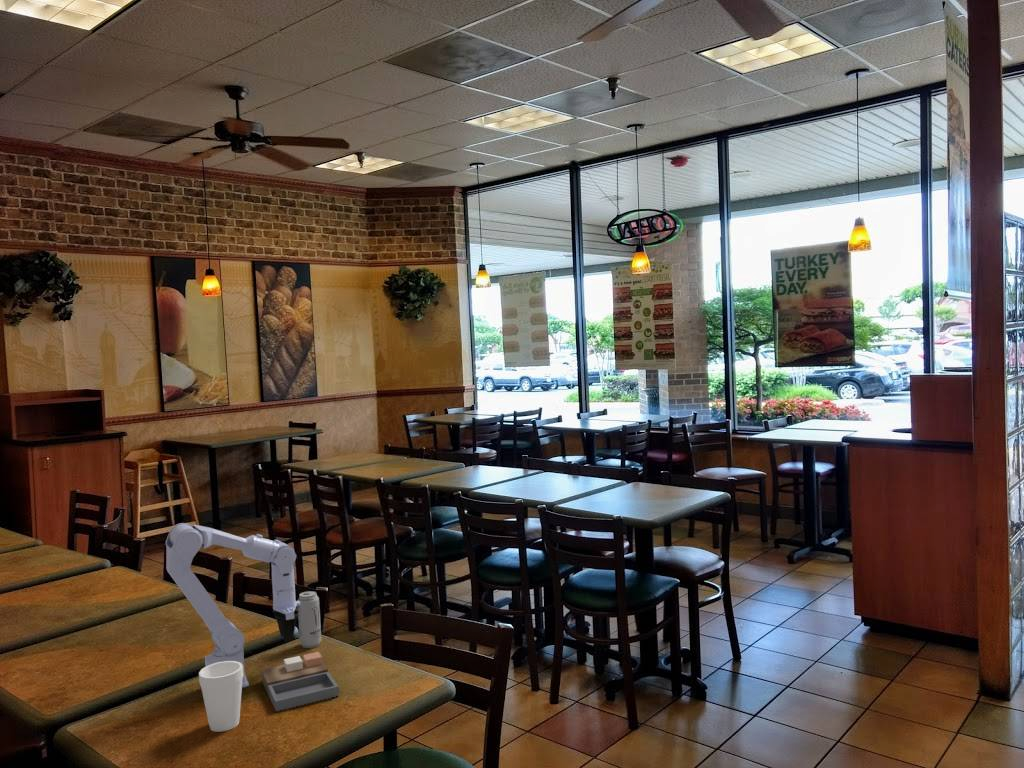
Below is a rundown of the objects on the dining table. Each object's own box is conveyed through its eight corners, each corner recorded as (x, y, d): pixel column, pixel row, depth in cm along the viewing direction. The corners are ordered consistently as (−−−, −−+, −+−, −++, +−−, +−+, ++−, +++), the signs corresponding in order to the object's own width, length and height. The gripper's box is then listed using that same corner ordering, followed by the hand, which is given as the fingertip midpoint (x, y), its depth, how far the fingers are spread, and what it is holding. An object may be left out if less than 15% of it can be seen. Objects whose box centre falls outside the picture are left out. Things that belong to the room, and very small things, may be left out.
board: (268, 694, 191) (267, 683, 191) (262, 680, 199) (261, 669, 199) (328, 680, 198) (328, 669, 198) (320, 667, 206) (319, 656, 206)
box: (276, 711, 182) (275, 701, 182) (268, 695, 191) (268, 685, 191) (338, 696, 188) (338, 686, 188) (328, 681, 198) (328, 671, 197)
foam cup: (210, 716, 181) (206, 662, 180) (250, 713, 182) (247, 659, 181) (197, 736, 171) (193, 679, 171) (239, 733, 172) (236, 676, 171)
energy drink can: (315, 649, 219) (312, 597, 219) (296, 648, 221) (293, 597, 220) (325, 641, 225) (322, 590, 225) (306, 640, 226) (303, 590, 226)
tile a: (287, 672, 197) (286, 664, 197) (284, 666, 200) (283, 659, 200) (303, 668, 199) (302, 661, 199) (299, 663, 202) (299, 655, 202)
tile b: (306, 667, 199) (306, 660, 199) (303, 662, 203) (303, 655, 203) (322, 664, 201) (321, 656, 201) (318, 659, 205) (318, 651, 204)
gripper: (304, 592, 201) (307, 643, 201) (293, 578, 214) (296, 626, 214) (276, 597, 197) (280, 649, 198) (267, 583, 210) (270, 632, 211)
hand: (286, 638), depth 206 cm, fingers open, 4 cm apart
